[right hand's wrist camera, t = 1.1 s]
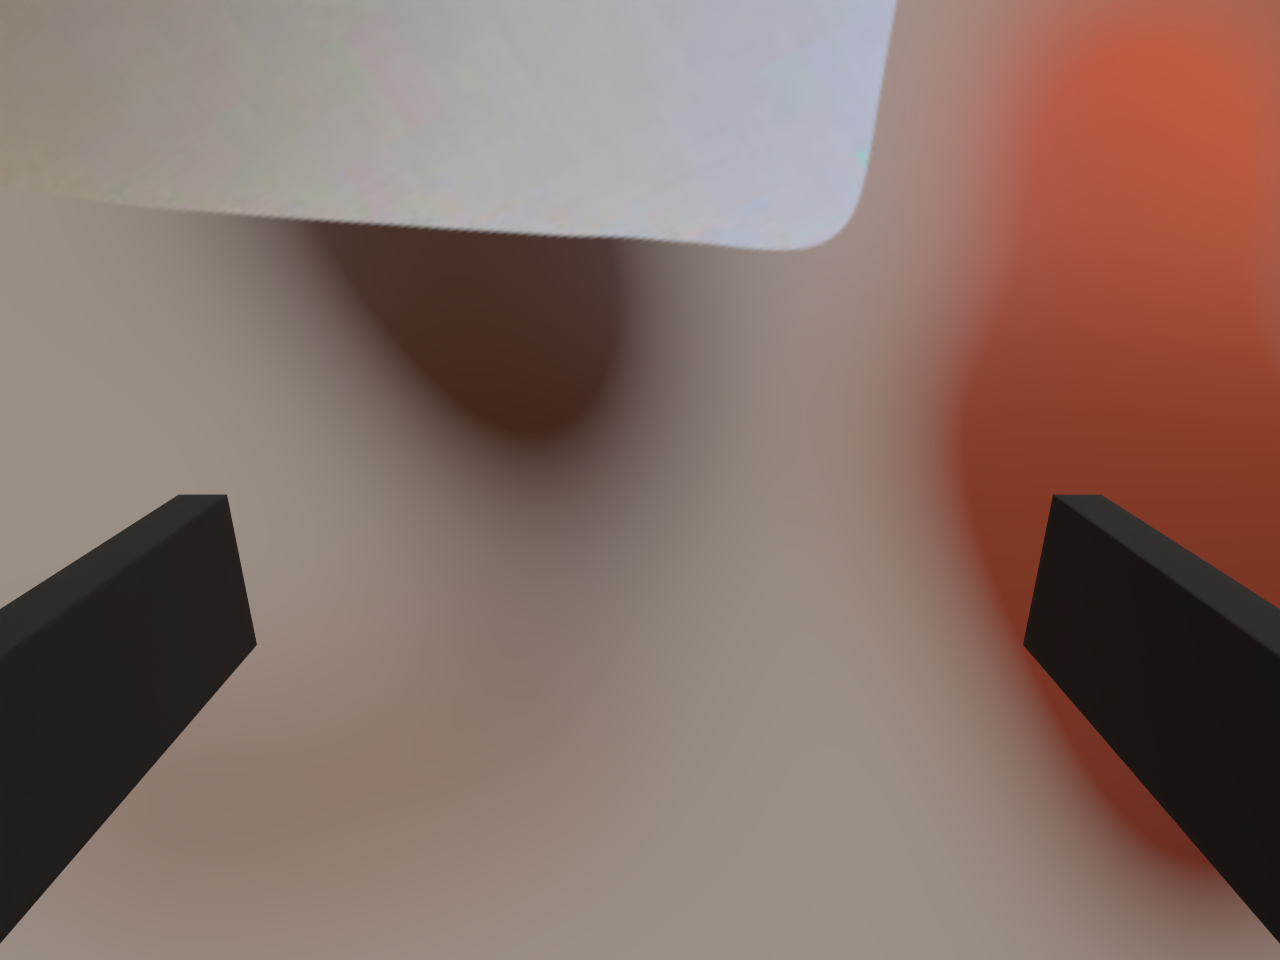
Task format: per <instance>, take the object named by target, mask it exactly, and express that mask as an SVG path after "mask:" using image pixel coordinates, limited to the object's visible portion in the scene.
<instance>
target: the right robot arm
mask: <svg viewBox="0 0 1280 960" xmlns="http://www.w3.org/2000/svg"><path fill="white" fill-rule="evenodd" d="M256 645H257V643H256V638H255V633H254V628H253V623H252V618H251V613H250V608H249V603H248V598H247V593H246V588H245V583H244V578H243V573H242V568H241V563H240V558H239V553H238V548H237V543H236V538H235V533H234V528H233V523H232V518H231V513H230V508H229V503H228V498H227V495H178V496H176V497H175V498H173V499H171V500H170V501H168V502H167V503H165V504H163V505H162V506H160V507H159V508H157V509H156V510H154V511H153V512H151V513H149V514H148V515H146V516H145V517H143V518H142V519H140V520H139V521H137V522H135V523H134V524H132V525H131V526H129V527H128V528H126V529H124V530H123V531H121V532H120V533H118V534H117V535H115V536H114V537H112V538H110V539H109V540H107V541H106V542H104V543H103V544H101V545H100V546H98V547H97V548H95V549H93V550H92V551H90V552H89V553H87V554H86V555H84V556H82V557H81V558H79V559H78V560H76V561H75V562H73V563H71V564H70V565H68V566H67V567H65V568H64V569H62V570H61V571H59V572H57V573H56V574H54V575H53V576H51V577H50V578H48V579H46V580H45V581H43V582H42V583H40V584H39V585H37V586H36V587H34V588H32V589H31V590H29V591H28V592H26V593H25V594H23V595H22V596H20V597H18V598H17V599H15V600H14V601H12V602H11V603H9V604H8V605H6V606H4V607H3V608H1V609H0V943H1V942H2V941H3V940H4V938H5V937H6V936H7V935H8V934H9V933H10V931H11V930H12V929H13V928H14V927H15V926H16V924H17V923H18V922H19V921H20V920H21V919H22V917H23V916H24V915H25V914H26V913H27V912H28V910H29V909H30V908H31V907H32V906H33V905H34V903H35V902H36V901H37V900H38V899H39V898H40V896H41V895H42V894H43V893H44V892H45V891H46V889H47V888H48V887H49V886H50V885H51V884H52V883H53V881H54V880H55V879H56V878H57V877H58V876H59V874H60V873H61V872H62V871H63V870H64V869H65V867H66V866H67V865H68V864H69V863H70V862H71V860H72V859H73V858H74V857H75V856H76V855H77V853H78V852H79V851H80V850H81V849H82V848H83V846H84V845H85V844H86V843H87V842H88V841H89V839H90V838H91V837H92V836H93V835H94V834H95V832H96V831H97V830H98V829H99V828H100V827H101V825H102V824H103V823H104V822H105V821H106V820H107V819H108V817H109V816H110V815H111V814H112V813H113V812H114V810H115V809H116V808H117V807H118V806H119V804H120V803H121V802H122V801H123V800H124V799H125V798H126V796H127V795H128V794H129V793H130V792H131V791H132V789H133V788H134V787H135V786H136V785H137V784H138V782H139V781H140V780H141V779H142V778H143V777H144V775H145V774H146V773H147V772H148V771H149V770H150V768H151V767H152V766H153V765H154V764H155V763H156V762H157V760H158V759H159V758H160V757H161V756H162V755H163V753H164V752H165V751H166V750H167V749H168V748H169V746H170V745H171V744H172V743H173V742H174V741H175V739H176V738H177V737H178V736H179V735H180V734H181V732H182V731H183V730H184V729H185V728H186V727H187V725H188V724H189V723H190V722H191V721H192V720H193V718H194V717H195V716H196V715H197V714H198V713H199V711H200V710H201V709H202V708H203V707H204V706H205V704H206V703H207V702H208V701H209V700H210V699H211V698H212V696H213V695H214V694H215V693H216V692H217V691H218V689H219V688H220V687H221V686H222V685H223V684H224V682H225V681H226V680H227V679H228V678H229V677H230V675H231V674H232V673H233V672H234V671H235V669H236V668H237V667H238V666H239V665H240V664H241V663H242V661H243V660H244V659H245V658H246V657H247V656H248V654H249V653H250V652H251V651H252V650H253V649H254V647H255V646H256ZM1023 645H1024V646H1025V647H1026V649H1027V650H1028V651H1029V652H1030V653H1031V654H1032V656H1033V657H1034V658H1035V659H1036V660H1037V661H1038V663H1039V664H1040V665H1041V666H1042V667H1043V668H1044V670H1045V671H1046V672H1047V673H1048V674H1049V675H1050V677H1051V678H1052V679H1053V680H1054V681H1055V682H1056V684H1057V685H1058V686H1059V687H1060V688H1061V689H1062V691H1063V692H1064V693H1065V694H1066V695H1067V696H1068V698H1069V699H1070V700H1071V701H1072V702H1073V703H1074V705H1075V706H1076V707H1077V708H1078V709H1079V710H1080V711H1081V713H1082V714H1083V715H1084V716H1085V717H1086V718H1087V720H1088V721H1089V722H1090V723H1091V724H1092V725H1093V727H1094V728H1095V729H1096V730H1097V731H1098V732H1099V734H1100V735H1101V736H1102V737H1103V738H1104V739H1105V741H1106V742H1107V743H1108V744H1109V745H1110V746H1111V748H1112V749H1113V750H1114V751H1115V752H1116V753H1117V755H1118V756H1119V757H1120V758H1121V759H1122V760H1123V762H1124V763H1125V764H1126V765H1127V766H1128V767H1129V768H1130V770H1131V771H1132V772H1133V773H1134V774H1135V775H1136V777H1137V778H1138V779H1139V780H1140V781H1141V782H1142V784H1143V785H1144V786H1145V787H1146V788H1147V789H1148V791H1149V792H1150V793H1151V794H1152V795H1153V796H1154V797H1155V799H1156V800H1157V801H1158V802H1159V803H1160V805H1161V806H1162V807H1163V808H1164V809H1165V810H1166V812H1167V813H1168V814H1169V815H1170V816H1171V817H1172V819H1173V820H1174V821H1175V822H1176V823H1177V824H1178V825H1179V827H1180V828H1181V829H1182V830H1183V831H1184V832H1185V834H1186V835H1187V836H1188V837H1189V838H1190V839H1191V841H1192V842H1193V843H1194V844H1195V845H1196V846H1197V848H1198V849H1199V850H1200V851H1201V852H1202V853H1203V855H1204V856H1205V857H1206V858H1207V859H1208V860H1209V862H1210V863H1211V864H1212V865H1213V866H1214V867H1215V869H1216V870H1217V871H1218V872H1219V873H1220V874H1221V876H1222V877H1223V878H1224V879H1225V880H1226V881H1227V883H1228V884H1229V885H1230V886H1231V887H1232V888H1233V889H1234V891H1235V892H1236V893H1237V894H1238V895H1239V896H1240V898H1241V899H1242V900H1243V901H1244V902H1245V903H1246V905H1247V906H1248V907H1249V908H1250V909H1251V910H1252V912H1253V913H1254V914H1255V915H1256V916H1257V917H1258V919H1259V920H1260V921H1261V922H1262V923H1263V924H1264V926H1265V927H1266V928H1267V929H1268V930H1269V931H1270V933H1271V934H1272V935H1273V936H1274V937H1275V938H1276V940H1277V941H1278V942H1279V943H1280V609H1279V608H1277V607H1276V606H1274V605H1272V604H1271V603H1269V602H1268V601H1266V600H1265V599H1263V598H1262V597H1260V596H1258V595H1257V594H1255V593H1254V592H1252V591H1251V590H1249V589H1248V588H1246V587H1244V586H1243V585H1241V584H1240V583H1238V582H1237V581H1235V580H1234V579H1232V578H1230V577H1229V576H1227V575H1226V574H1224V573H1223V572H1221V571H1219V570H1218V569H1216V568H1215V567H1213V566H1212V565H1210V564H1209V563H1207V562H1205V561H1204V560H1202V559H1201V558H1199V557H1198V556H1196V555H1194V554H1193V553H1191V552H1190V551H1188V550H1187V549H1185V548H1184V547H1182V546H1180V545H1179V544H1177V543H1176V542H1174V541H1173V540H1171V539H1170V538H1168V537H1166V536H1165V535H1163V534H1162V533H1160V532H1159V531H1157V530H1156V529H1154V528H1152V527H1151V526H1149V525H1148V524H1146V523H1145V522H1143V521H1141V520H1140V519H1138V518H1137V517H1135V516H1134V515H1132V514H1131V513H1129V512H1127V511H1126V510H1124V509H1123V508H1121V507H1120V506H1118V505H1117V504H1115V503H1113V502H1112V501H1110V500H1109V499H1107V498H1106V497H1104V496H1102V495H1053V498H1052V503H1051V508H1050V513H1049V518H1048V523H1047V528H1046V533H1045V538H1044V543H1043V548H1042V553H1041V558H1040V563H1039V568H1038V573H1037V578H1036V583H1035V588H1034V593H1033V598H1032V603H1031V608H1030V613H1029V618H1028V623H1027V628H1026V633H1025V638H1024V643H1023Z"/></svg>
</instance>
